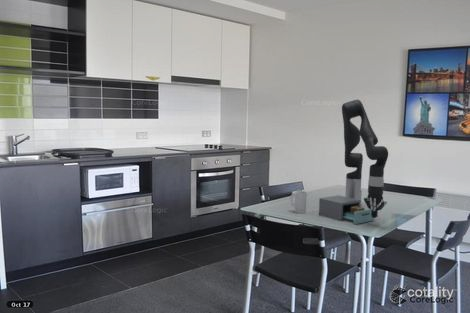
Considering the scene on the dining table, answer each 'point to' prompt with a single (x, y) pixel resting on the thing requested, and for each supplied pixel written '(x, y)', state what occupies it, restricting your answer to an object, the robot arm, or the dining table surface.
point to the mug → (299, 201)
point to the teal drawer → (359, 216)
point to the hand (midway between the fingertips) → (374, 217)
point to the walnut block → (356, 209)
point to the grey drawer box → (337, 206)
